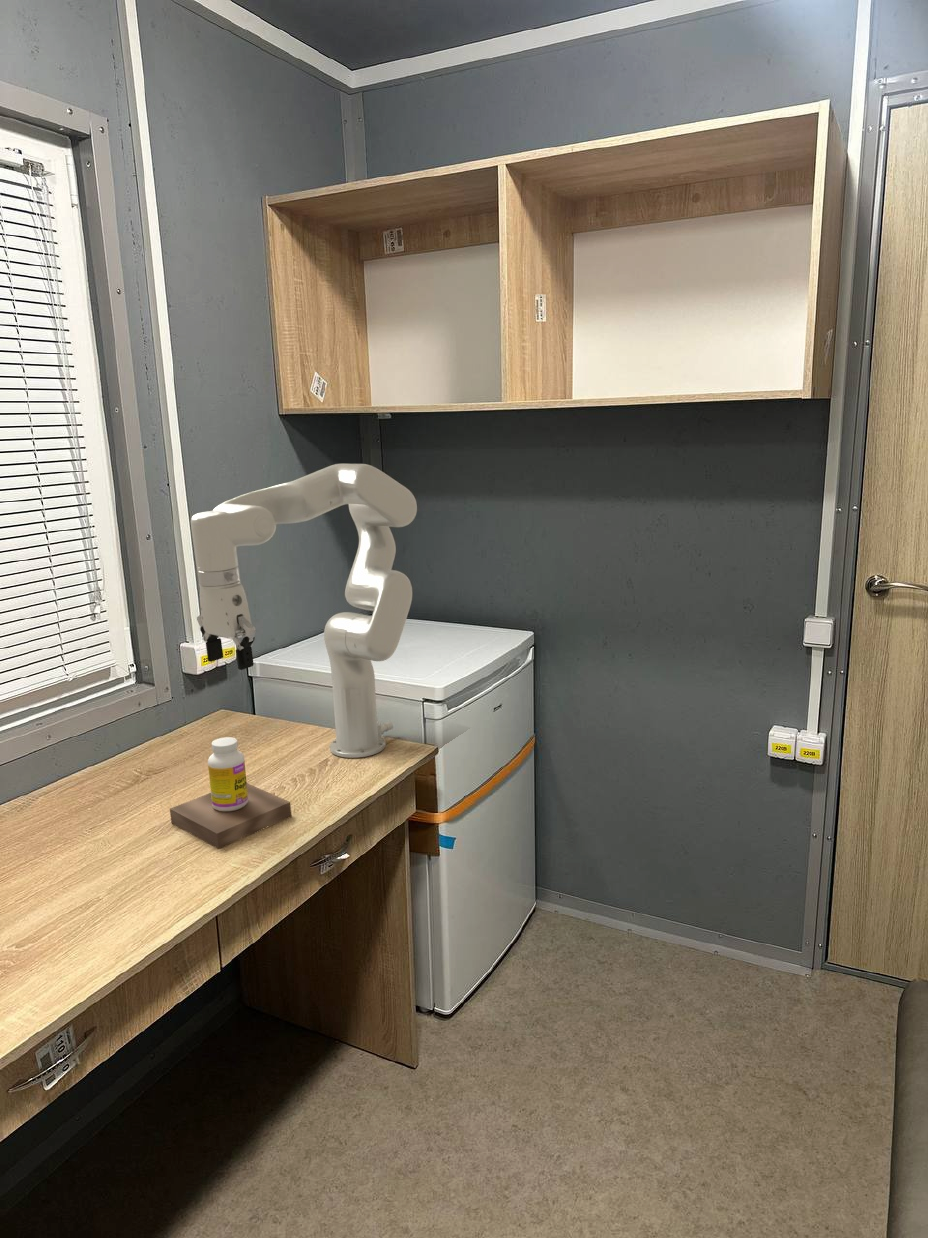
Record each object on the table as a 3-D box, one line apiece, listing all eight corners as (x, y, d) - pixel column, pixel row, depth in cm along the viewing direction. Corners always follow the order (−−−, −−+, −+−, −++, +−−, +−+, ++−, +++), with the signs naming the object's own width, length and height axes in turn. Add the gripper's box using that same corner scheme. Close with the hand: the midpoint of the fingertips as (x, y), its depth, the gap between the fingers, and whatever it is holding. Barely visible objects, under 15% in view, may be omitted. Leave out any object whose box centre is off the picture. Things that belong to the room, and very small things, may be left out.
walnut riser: (242, 794, 177) (241, 780, 176) (291, 816, 166) (290, 802, 166) (171, 823, 165) (169, 808, 165) (218, 849, 155) (217, 833, 154)
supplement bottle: (239, 814, 161) (232, 749, 158) (206, 812, 163) (199, 747, 160) (254, 798, 168) (248, 735, 165) (222, 796, 169) (216, 734, 166)
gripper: (263, 577, 161) (274, 665, 166) (209, 569, 172) (220, 651, 176) (229, 586, 156) (241, 676, 160) (176, 576, 167) (188, 662, 171)
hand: (230, 663), depth 168 cm, fingers open, 9 cm apart
